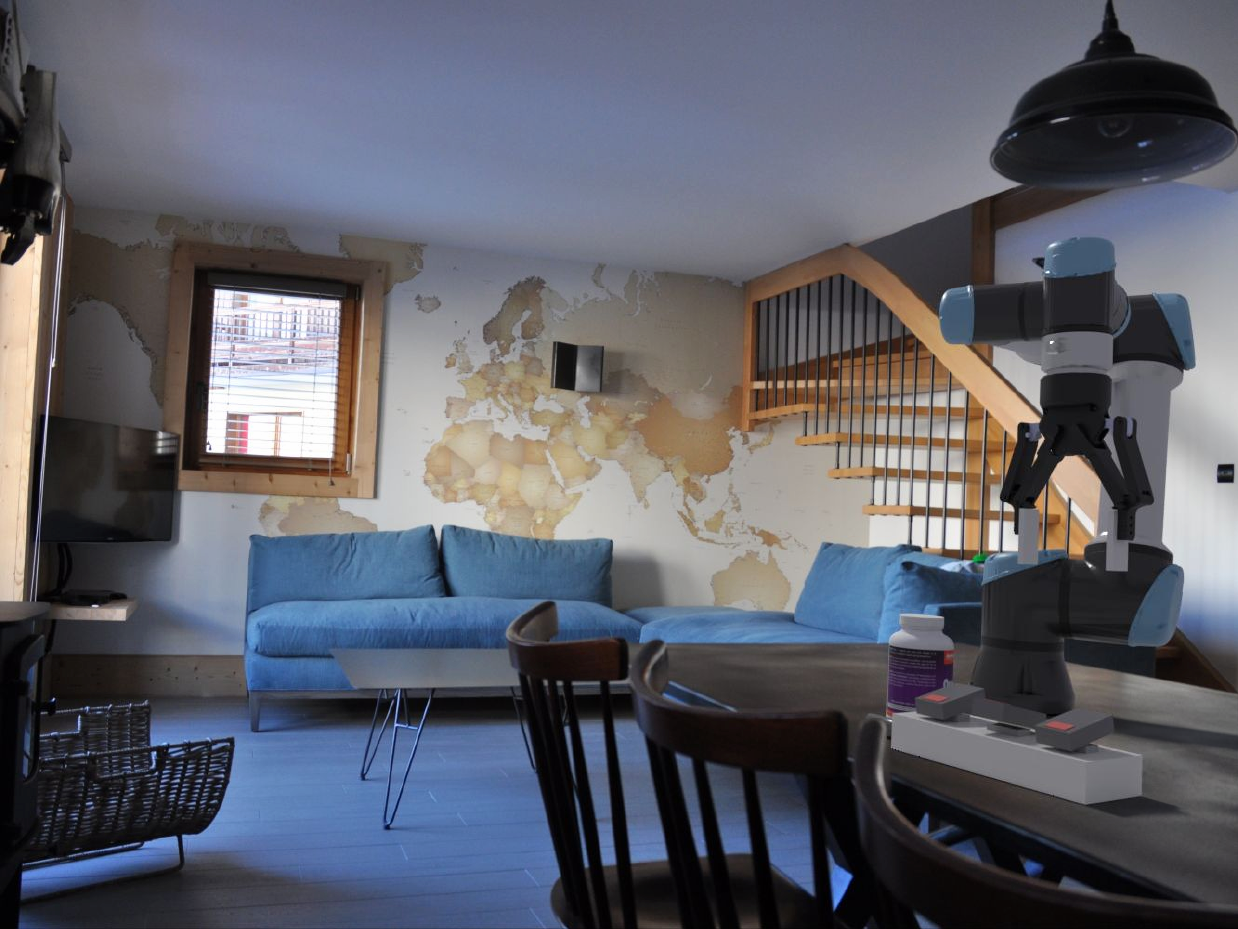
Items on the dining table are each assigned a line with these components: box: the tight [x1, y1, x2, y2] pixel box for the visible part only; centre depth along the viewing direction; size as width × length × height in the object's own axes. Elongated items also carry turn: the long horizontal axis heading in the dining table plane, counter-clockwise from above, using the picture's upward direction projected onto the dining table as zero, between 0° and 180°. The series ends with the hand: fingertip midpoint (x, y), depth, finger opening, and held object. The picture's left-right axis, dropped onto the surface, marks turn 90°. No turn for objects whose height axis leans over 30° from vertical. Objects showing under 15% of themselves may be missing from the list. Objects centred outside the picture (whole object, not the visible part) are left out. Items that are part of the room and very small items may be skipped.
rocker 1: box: [915, 682, 985, 720], centre depth 120 cm, size 7×4×2 cm, turn 121°
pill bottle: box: [885, 613, 955, 719], centre depth 135 cm, size 8×8×14 cm
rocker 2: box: [970, 697, 1047, 730], centre depth 113 cm, size 7×4×2 cm, turn 121°
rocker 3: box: [1034, 707, 1115, 751], centre depth 107 cm, size 7×4×2 cm, turn 121°
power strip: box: [865, 712, 1144, 806], centre depth 117 cm, size 9×33×5 cm, turn 31°
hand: (1070, 567), depth 119 cm, fingers open, 11 cm apart
